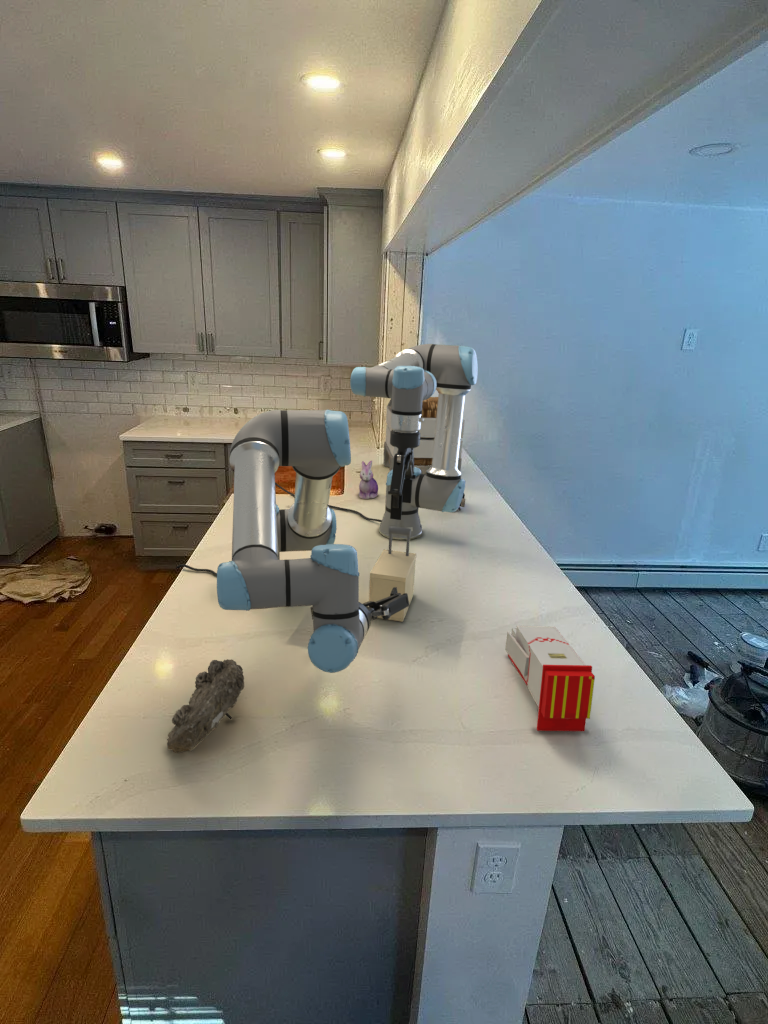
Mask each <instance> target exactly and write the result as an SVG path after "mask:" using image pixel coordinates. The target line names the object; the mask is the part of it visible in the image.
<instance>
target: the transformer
mask: <svg viewBox="0 0 768 1024" xmlns="http://www.w3.org/2000/svg"><path fill="white" fill-rule="evenodd" d="M437 405H438V396H431V397H430V398H428V399H427V400H424V401H423V402H422V414H421V418H423V419H424V421H423V422H421V428H420V430H418V431H419V432H420V445H419V446H418V447H416V448H414V451H413V452H414V467H417V466H418V467H431V466H432V458H433V447H434V437H435V426H436V416H437ZM391 411H392V399H391V398H390V400H389V402H388V404H387V405H386V413H385V414H386V415H385V423H386V428H385V438H384V442H383V466H384V467H388V468H389V472H390V471H391V470H393V465H394V455H395V454H396V453H397V452H398V448H397V447H393V446H392V445H391V444H390V432H391V430H393V429H391V427H390V426H391ZM464 429H465V419H464V418H463V420H462V429H461V438H460V448H459V457H458V466H457V468H458V470H459V471H460V472H461V473H462V461H463V460H462V453H463V442H464V441H463V440H462V439H463V438H464V431H465V430H464Z"/></svg>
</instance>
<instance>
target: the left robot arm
mask: <svg viewBox="0 0 768 1024" xmlns="http://www.w3.org/2000/svg"><path fill="white" fill-rule="evenodd" d="M350 440H351V439H350V429H349V420H348V416H347V414H346V413H345V412H344V411H342V410H341V411H340V410H331V409H271V410H267V411H263V412H261V413H259V414H257V415H256V416H254V417H252V418H250V419H249V420H248V421H247V422H246V423H245V424H244V425H243V426H242V427H241V428H240V429H239V431H237V433H236V435H235V436H234V438H233V440H232V443H231V444H230V450H229V459H228V460H229V462H228V463H229V466H230V469H231V471H233V473H234V475H233V476H234V478H233V506H232V508H233V509H232V534H231V535H232V537H231V541H232V542H231V560H229V561H226V562H221V563H219V565H217V570H216V571H214V570H212V569H209V568H195V567H193V566H190V565H188V564H185V563H181V564H178V565H176V567H175V568H176V569H180V568H181V567H182V568H187V569H188V570H191V571H194V572H204V573H205V572H207V573H210V574H212V575H213V576H216V596H217V603H218V606H219V607H220V608H221V609H222V610H224V611H246V612H247V611H248V612H249V611H250V610H251V611H252V610H264V609H265V610H266V609H276V608H277V609H279V608H296V607H310V615H311V619H312V628H313V629H312V630H313V631H312V633H311V635H310V638H309V640H308V643H307V655H308V658H309V660H310V662H311V663H312V664H313V666H314V667H315V668H317V669H319V670H320V671H322V672H325V673H328V674H329V673H330V674H335V673H339V672H342V671H344V670H345V669H347V668H348V667H349V666H350V665H351V664H352V662H354V661H355V660H356V658H357V656H358V653H359V649H360V648H361V645H362V643H363V642H364V640H365V638H366V636H367V634H368V632H369V629H370V628H371V623H372V622H373V620H376V619H378V618H377V617H378V616H381V618H380V619H382V618H383V619H382V620H384V621H386V620H389V618H390V616H392V615H393V614H395V613H397V612H399V611H401V610H403V609H404V608H406V607H408V606H409V607H410V605H409V600H408V594H407V593H404V594H402V595H401V593H398V592H397V587H394V588H393V589H392V591H391V593H390V596H389V597H387V598H384V599H381V600H378V601H376V602H374V601H369V600H368V601H366V602H363V603H361V602H360V592H359V591H360V590H359V588H360V586H359V585H360V580H359V579H360V572H359V559H358V550H357V549H356V548H355V547H353V546H352V545H350V544H345V543H344V544H343V543H335V541H336V537H337V536H336V534H337V516H336V512H335V510H334V508H331V507H328V505H329V502H330V496H331V490H332V485H333V477H334V476H335V475H336V474H338V473H339V472H340V469H341V468H343V467H346V466H349V465H350V464H351V462H352V452H351V441H350ZM279 467H291V468H292V469H293V471H294V472H295V480H294V481H295V483H294V495H295V497H294V499H293V501H294V502H293V503H292V504H291V505H290V506H289V508H284V509H282V508H281V509H280V507H279V505H278V504H277V496H276V495H277V494H276V485H275V482H276V472H277V471H278V470H279ZM310 551H311V553H310V557H307V558H305V557H304V558H296V559H295V558H294V559H293V558H292V559H291V558H290V559H281V557H280V556H281V555H280V553H286V552H287V553H288V552H310Z"/></svg>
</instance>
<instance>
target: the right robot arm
mask: <svg viewBox="0 0 768 1024" xmlns="http://www.w3.org/2000/svg"><path fill="white" fill-rule="evenodd" d="M478 364H479V363H478V356H477V352H476V350H475V349H474V348H473V347H471V346H466V345H465V346H464V345H461V344H459V345H455V344H454V345H453V344H438V343H437V344H436V343H435V344H434V343H423V344H418V345H415V346H414V345H413V346H411V347H408V348H407V347H406V348H404V349H402V350H400V351H399V352H398V353H397V354H396V355H395V356H394V357H392V358H390V359H388V360H386V361H383V362H381V363H379V364H375V365H374V366H371V367H368V366H356V367H354V368H353V369H352V372H351V374H350V380H349V384H350V390H351V392H352V394H354V395H356V396H362V397H364V398H365V397H369V398H370V397H371V398H382V399H390V400H391V399H392V411H391V426H390V427H391V429H393V430H391V432H390V444H391V445H392V446H393V447H397V448H398V452H397V453H396V454H395V455H394V465H393V470H391V471H390V470H389V472H388V473H387V475H386V482H385V504H384V505H385V507H384V508H385V509H384V513H383V515H382V519H378V518H370V517H367V516H365V515H364V514H363V513H361V512H359V511H357V510H354V509H350V508H345V507H339V506H337V505H331V504H328V507H329V508H331V509H336V510H340V511H346V512H350V513H355V514H357V515H359V516H360V517H362V518H363V519H365V520H366V521H372V522H379V527H378V533H379V534H380V535H381V536H382V537H385V538H387V539H389V532H388V530H389V526H394V527H402V528H410V529H411V535H410V540H415V539H418V538H420V537H421V536H422V535H423V525H422V524H421V518H420V515H419V509H424V510H431V511H435V512H436V511H437V512H441V513H456V512H457V511H458V510H459V509H458V508H459V505H460V503H461V500H462V497H463V494H465V489H466V480H465V479H464V478H462V471H461V472H460V471H459V470H458V468H457V466H458V457H459V448H460V439H462V438H461V429H462V420H463V419H464V408H465V401H466V395H467V394H468V393H469V392H470V391H471V390H472V386H475V385H476V384H477V382H478V374H479V371H478V370H479V368H478V367H479V365H478ZM435 392H437V393H438V394H437V395H438V396H437V397H438V405H437V416H436V426H435V437H434V447H433V458H432V465H430V466H429V468H427V469H426V473H422V470H421V468H419V467H417V466H414V452H413V451H414V448H416V447H418V446H419V445H420V432H419V431H418V430H420V428H421V422H423V421H424V419H423V418H421V414H422V402H423V401H424V400H427V399H428V398H430V397H433V395H434V394H435ZM275 487H278V488H279V489H280V490H282V491H284V492H285V493H287V494H289V495H291V496H292V497H294V498H295V493H293V492H291V491H288V490H287V489H285V488H284V487H282V486H281V485H279V484H278V483H277V482H276V481H275ZM392 540H395V541H407V535H399V534H392Z"/></svg>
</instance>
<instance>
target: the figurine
mask: <svg viewBox="0 0 768 1024" xmlns="http://www.w3.org/2000/svg"><path fill="white" fill-rule="evenodd" d="M372 466H373V460H369V461H368V463H367V464H366V462H365V461H364V460H362V461H361V471H360V472H359V478H360V482H359V484H358V490H359V492H358V497H359V499H363V500H369V499H374V498H377V497H378V493H379V485H378V481H377V480H376V478H374V473H373V471H372Z"/></svg>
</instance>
